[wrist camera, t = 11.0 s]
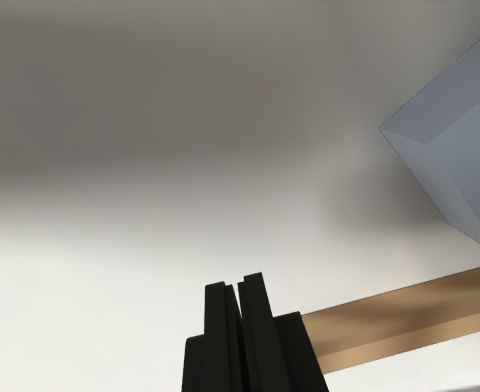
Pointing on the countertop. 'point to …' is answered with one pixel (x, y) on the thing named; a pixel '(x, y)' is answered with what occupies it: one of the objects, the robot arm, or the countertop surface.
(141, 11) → the countertop surface
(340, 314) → the box
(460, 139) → the block
